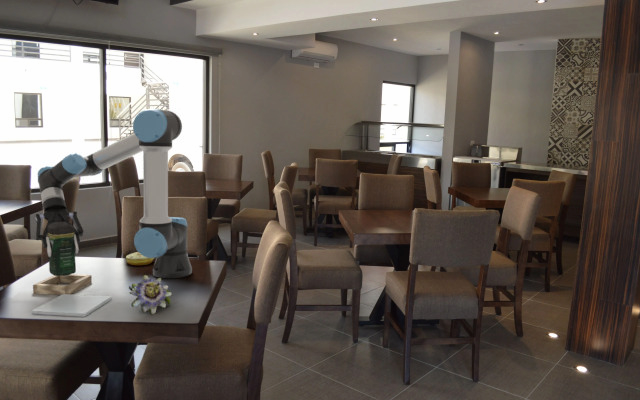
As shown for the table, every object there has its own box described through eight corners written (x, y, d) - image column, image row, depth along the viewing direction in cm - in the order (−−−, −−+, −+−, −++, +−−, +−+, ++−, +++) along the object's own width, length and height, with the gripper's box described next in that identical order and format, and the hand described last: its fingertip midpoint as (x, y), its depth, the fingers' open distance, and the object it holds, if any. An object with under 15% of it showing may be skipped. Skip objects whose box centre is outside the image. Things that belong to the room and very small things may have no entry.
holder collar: (91, 282, 194) (91, 275, 193) (69, 295, 179) (69, 286, 179) (58, 281, 195) (58, 273, 194) (33, 293, 180) (32, 284, 180)
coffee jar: (79, 274, 185) (76, 223, 183) (55, 278, 180) (52, 225, 178) (70, 268, 192) (67, 219, 190) (46, 272, 187) (44, 221, 185)
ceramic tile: (111, 299, 176) (111, 296, 176) (84, 316, 159) (84, 313, 159) (63, 296, 177) (63, 294, 177) (31, 313, 160) (31, 310, 160)
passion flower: (153, 332, 164) (133, 305, 156) (134, 315, 172) (114, 289, 164) (184, 304, 170) (166, 277, 162) (164, 289, 178) (146, 263, 169)
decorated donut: (153, 259, 233) (152, 250, 233) (154, 265, 222) (154, 256, 222) (126, 260, 229) (125, 251, 228) (126, 267, 218) (126, 257, 218)
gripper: (82, 206, 202) (93, 255, 191) (21, 210, 190) (29, 262, 179) (85, 194, 197) (96, 243, 186) (22, 197, 185) (30, 250, 174)
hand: (63, 252), depth 182 cm, fingers closed on coffee jar, 8 cm apart
